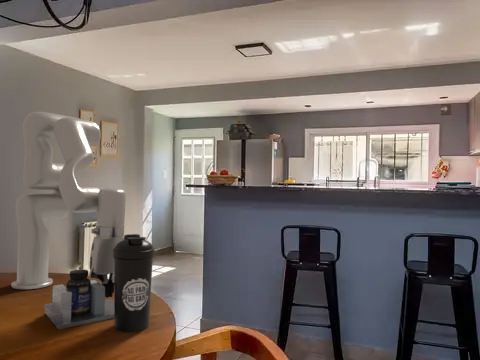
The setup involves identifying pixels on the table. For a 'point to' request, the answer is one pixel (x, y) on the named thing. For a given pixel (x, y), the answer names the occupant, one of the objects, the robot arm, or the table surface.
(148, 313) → the water bottle
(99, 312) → the sliding jaw
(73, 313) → the pill bottle
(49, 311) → the vise base
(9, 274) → the table surface
